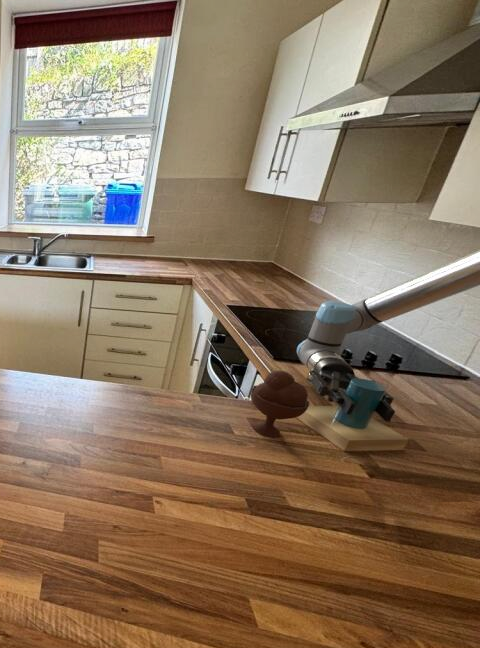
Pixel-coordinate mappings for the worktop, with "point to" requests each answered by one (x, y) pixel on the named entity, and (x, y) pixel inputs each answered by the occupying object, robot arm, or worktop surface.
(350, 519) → the worktop surface
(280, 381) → the ice cream bowl
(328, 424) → the platform
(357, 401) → the canister
